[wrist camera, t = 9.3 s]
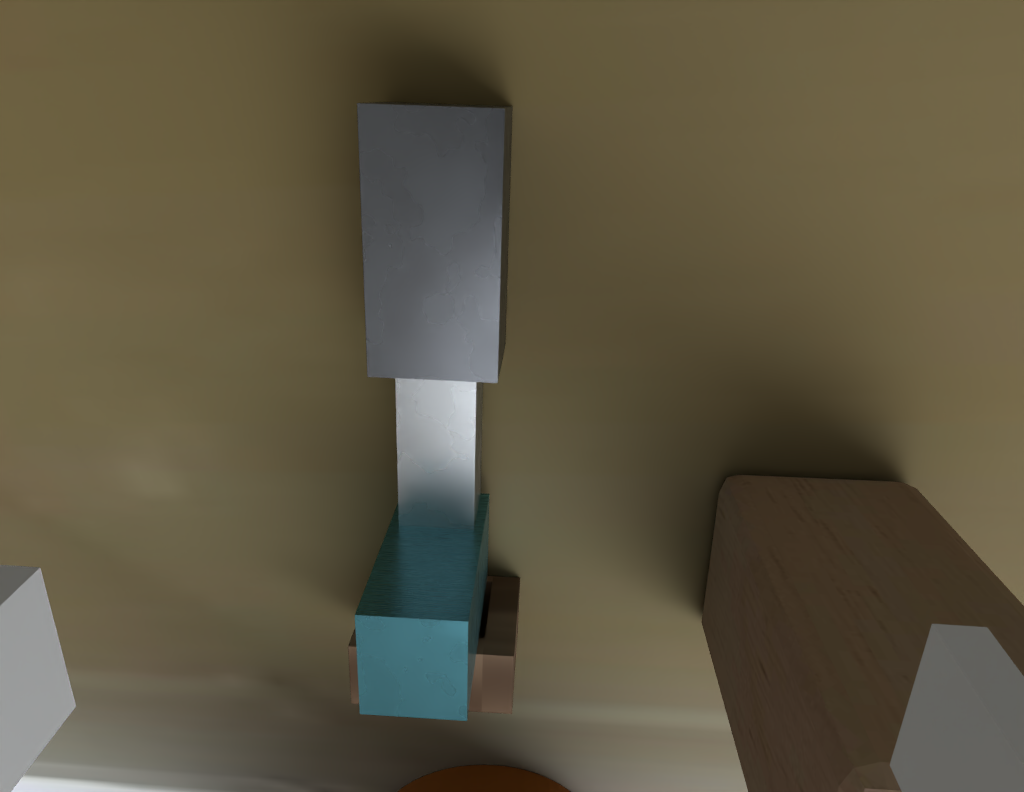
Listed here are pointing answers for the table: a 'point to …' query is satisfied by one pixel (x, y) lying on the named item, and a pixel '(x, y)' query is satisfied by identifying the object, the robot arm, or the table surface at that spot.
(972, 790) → the robot arm
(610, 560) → the table surface
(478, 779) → the flower pot
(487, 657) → the socket
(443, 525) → the teal square post
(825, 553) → the wooden block
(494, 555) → the table surface
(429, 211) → the grey rectangular block
